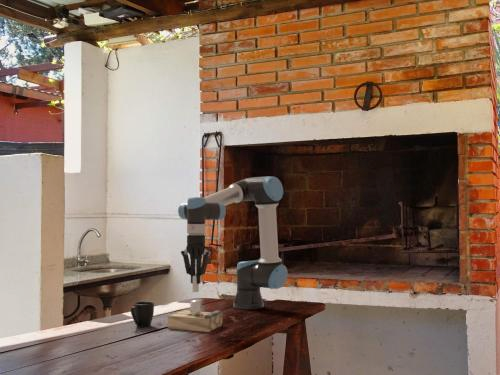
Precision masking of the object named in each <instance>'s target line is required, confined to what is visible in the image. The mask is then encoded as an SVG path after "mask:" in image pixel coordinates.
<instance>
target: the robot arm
mask: <svg viewBox="0 0 500 375" xmlns="http://www.w3.org/2000/svg"><path fill="white" fill-rule="evenodd" d="M283 195H284V188H283V184H282V182H281V180H280V179H279V178H278V177H276V176H267V175H266V176H254V177H248V178H247V177H246V178H244V179H241V180H239V181H236V182H234V183H231V184H230V185H229V186H228V187H226V188H224V189H221V190H219V191H217V192H214V193H212V194H209V195H207V196H203V197H202V196H201V197H198V196H197V197H193V196H191V197H188V198H187V202H182V203H181V204H180V205H179V206H178V208H177V212H178V213H177V214H178V216H179V218H181V219H182V220H186V221H187V222H186V227H187V228H186V230H187V231H186V233H187V236H186V248H185V249H184V250H181V251H180V254H181V256H182V257H183V264H184V267H185V272H186V274H187V275H189V276H190V283H191V284H192V293H197V292H199V291H200V287H199V285H200V284H201V283H202V282H201V280H202V278H201V277H202V276H203V275H205V274H206V271H207V266H208V262H209V258H210V257H211V254H212V251H209V249H208V250H207V247H206V235H205V234H206V221H219V220H223V219H224V218H225V217H226V214H227V210H226V209H227V208H226V206H229V205H231V204H234V203H235V204H238V203H241V202H254V205H255V207H256V208H257V209H258V210H257V211H258V227H259V228H258V229H259V245H260V246H259V247H260V258H258V259H256V260H247V261H239V262H237V266H236V294H235V296H234V300H233V302H232V303H233V304H232V305H233V306H232V307H233V308H235V309H238V310H259V309H258V308H260V309H263V308H264V305H265V304H264V300H263V296H262V292H261V288H265V289H271V290H273V289H274V290H275V289H276V290H279V289H281V288H282V287H283V286H284V285H285V284H286V282H287V279H288V269H287V266H286V265H285V264H283V260H282V258H281V257H279V256H280V255H279V242H278V241H279V240H278V224H277V223H278V222H277V207H278V206H279V202H280V200H281V199H282V198H283ZM203 255H204V256H203ZM202 256H203V257H202ZM202 258H203V259H202ZM262 307H263V308H262Z"/></svg>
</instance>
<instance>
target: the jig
mask: <svg viewBox="0 0 500 375" xmlns="http://www.w3.org/2000/svg"><path fill="white" fill-rule="evenodd" d="M222 326H223V313H222V310H217V309H216V310H214V311H210V312H209V311H201V316H190V310H182V311H178V312H176V313H173V314H170V315H168V316H167V329H169V330H181V331H192V332H203V333H204V332H205V333H208V332H209V333H210V332H211V331H213V330H215V329H218V328H220V327H222Z"/></svg>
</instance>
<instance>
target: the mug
mask: <svg viewBox="0 0 500 375" xmlns="http://www.w3.org/2000/svg"><path fill="white" fill-rule="evenodd" d="M154 312H155V302H153V301H136V302H134V303H133V306H132V307H131V308H130V314H131V317H132V319H133V322H134V323H135V325H136V327H137V328H149V327H151V325H152V321H153V317H154V314H155V313H154Z"/></svg>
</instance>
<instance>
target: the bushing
mask: <svg viewBox="0 0 500 375" xmlns="http://www.w3.org/2000/svg"><path fill="white" fill-rule="evenodd" d="M189 311H190V316H201V312H202V301H201V300H198V299H196V300H195V299H194V300H193V299H192V300H190V310H189Z"/></svg>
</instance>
